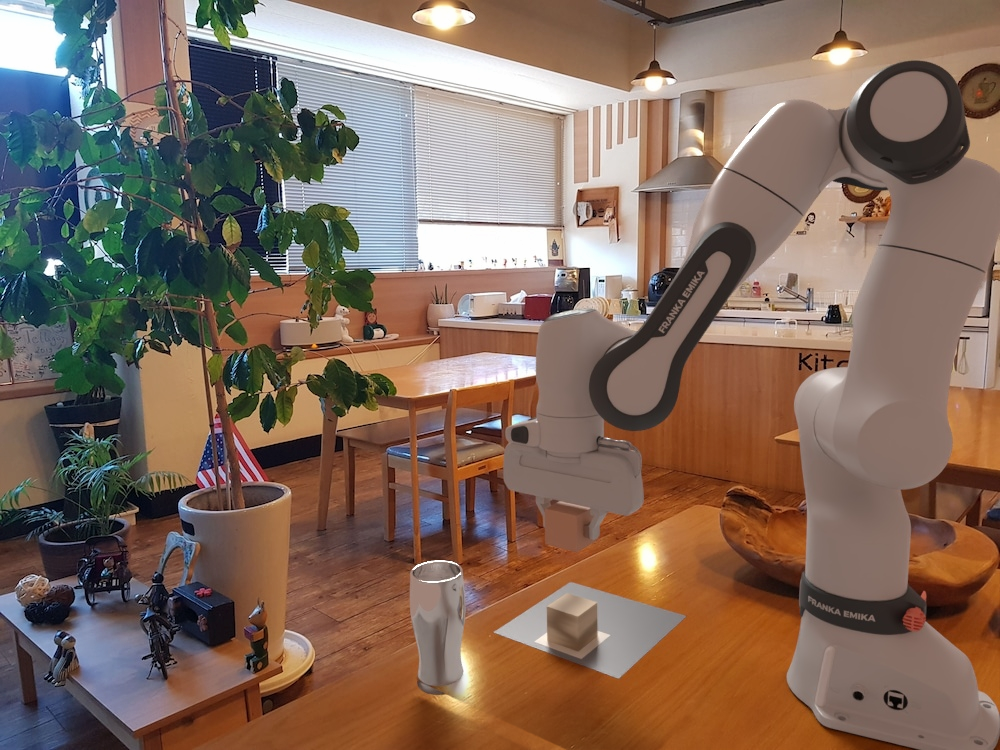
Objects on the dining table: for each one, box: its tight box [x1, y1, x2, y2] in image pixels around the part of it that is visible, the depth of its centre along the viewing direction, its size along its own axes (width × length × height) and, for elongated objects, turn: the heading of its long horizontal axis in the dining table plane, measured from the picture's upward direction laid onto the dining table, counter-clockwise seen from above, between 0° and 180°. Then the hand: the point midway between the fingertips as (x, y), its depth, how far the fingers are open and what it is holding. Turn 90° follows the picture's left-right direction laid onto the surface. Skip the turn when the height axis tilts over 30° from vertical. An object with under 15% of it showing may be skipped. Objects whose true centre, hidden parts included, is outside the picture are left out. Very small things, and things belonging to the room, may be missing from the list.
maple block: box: [547, 593, 598, 651], centre depth 103 cm, size 5×5×5 cm
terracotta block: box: [544, 501, 598, 553], centre depth 101 cm, size 5×5×5 cm
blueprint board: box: [493, 581, 687, 680], centre depth 107 cm, size 20×20×1 cm
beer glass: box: [409, 560, 466, 696], centre depth 94 cm, size 7×7×15 cm
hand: (570, 532), depth 101 cm, fingers closed on terracotta block, 5 cm apart
